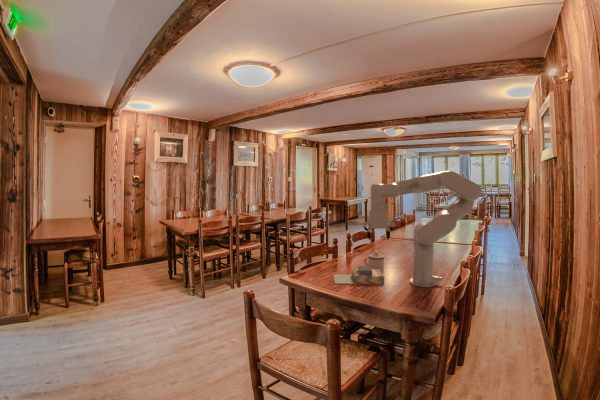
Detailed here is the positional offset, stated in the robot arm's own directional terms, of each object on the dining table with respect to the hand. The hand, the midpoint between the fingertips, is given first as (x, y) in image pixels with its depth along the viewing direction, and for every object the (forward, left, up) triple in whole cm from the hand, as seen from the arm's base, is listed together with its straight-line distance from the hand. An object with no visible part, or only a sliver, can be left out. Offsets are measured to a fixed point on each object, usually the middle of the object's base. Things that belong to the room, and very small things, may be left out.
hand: (378, 239), depth 167 cm
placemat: (+18, 0, -22) cm, 29 cm away
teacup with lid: (-1, -17, -23) cm, 29 cm away
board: (+5, 0, -22) cm, 23 cm away
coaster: (+7, 0, -18) cm, 20 cm away
